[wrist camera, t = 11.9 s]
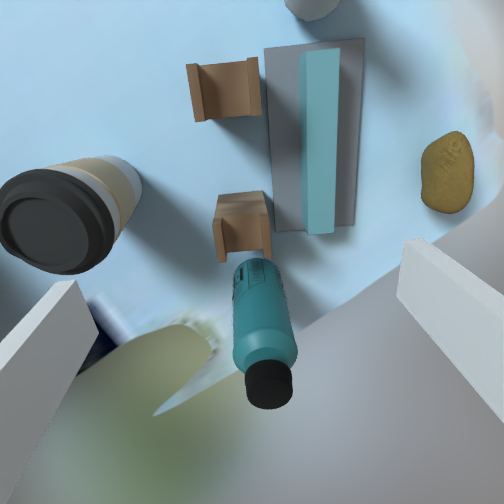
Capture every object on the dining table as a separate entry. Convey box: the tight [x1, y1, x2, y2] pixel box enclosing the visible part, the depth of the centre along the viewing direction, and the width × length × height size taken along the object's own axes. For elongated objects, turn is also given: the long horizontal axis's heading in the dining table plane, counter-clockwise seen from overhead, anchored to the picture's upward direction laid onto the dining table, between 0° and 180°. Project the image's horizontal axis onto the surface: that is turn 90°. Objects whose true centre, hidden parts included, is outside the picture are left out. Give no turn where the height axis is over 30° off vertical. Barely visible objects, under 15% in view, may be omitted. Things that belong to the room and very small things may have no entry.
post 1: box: [186, 57, 262, 122], centre depth 28 cm, size 5×4×10 cm
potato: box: [421, 131, 474, 214], centre depth 34 cm, size 7×8×8 cm
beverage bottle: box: [232, 258, 298, 409], centre depth 34 cm, size 6×7×20 cm
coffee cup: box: [0, 155, 142, 275], centre depth 30 cm, size 9×9×15 cm
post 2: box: [212, 191, 272, 263], centre depth 34 cm, size 5×4×10 cm
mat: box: [264, 38, 365, 232], centre depth 35 cm, size 10×20×1 cm, turn 5°
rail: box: [299, 48, 340, 235], centre depth 33 cm, size 3×18×4 cm, turn 5°
